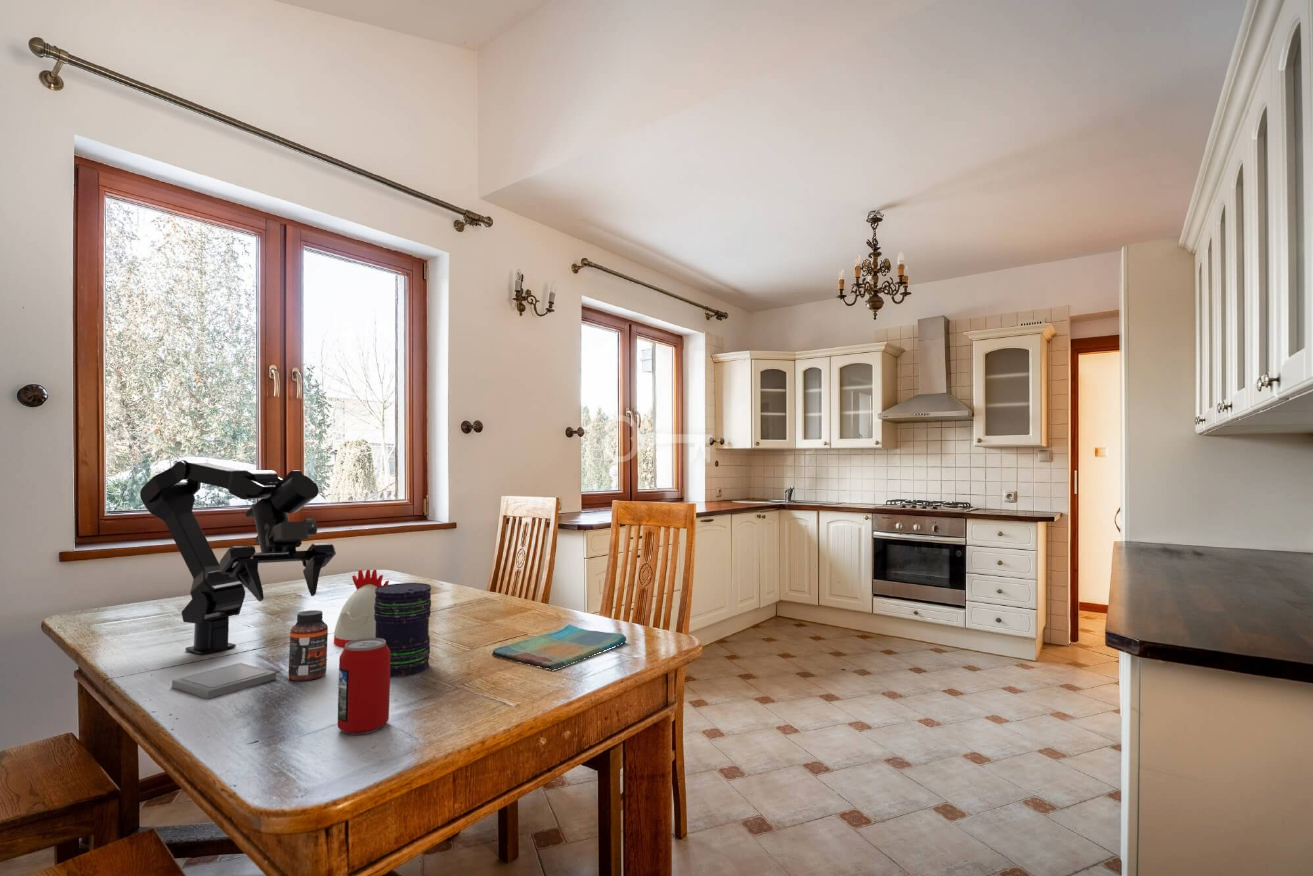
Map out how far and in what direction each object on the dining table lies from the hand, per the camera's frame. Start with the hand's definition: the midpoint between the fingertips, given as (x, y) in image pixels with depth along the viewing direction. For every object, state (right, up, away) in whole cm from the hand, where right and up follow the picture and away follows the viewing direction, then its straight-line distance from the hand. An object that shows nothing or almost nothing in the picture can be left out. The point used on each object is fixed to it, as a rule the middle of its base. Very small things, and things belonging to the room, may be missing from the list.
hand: (288, 597), depth 120 cm
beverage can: (+26, -12, -27) cm, 40 cm away
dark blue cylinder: (+21, -13, -1) cm, 25 cm away
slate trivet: (-6, -12, -9) cm, 16 cm away
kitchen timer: (+6, -14, +20) cm, 25 cm away
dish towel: (+49, -15, +13) cm, 53 cm away
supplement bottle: (+7, -13, -5) cm, 15 cm away
